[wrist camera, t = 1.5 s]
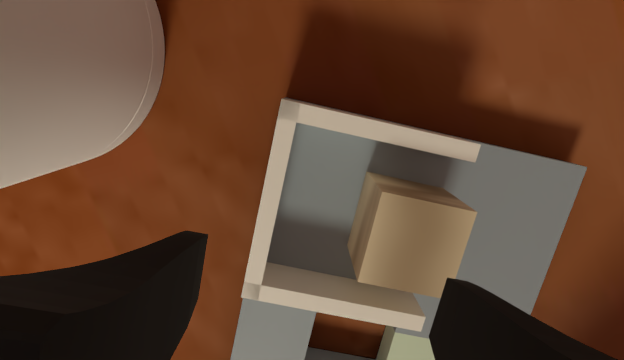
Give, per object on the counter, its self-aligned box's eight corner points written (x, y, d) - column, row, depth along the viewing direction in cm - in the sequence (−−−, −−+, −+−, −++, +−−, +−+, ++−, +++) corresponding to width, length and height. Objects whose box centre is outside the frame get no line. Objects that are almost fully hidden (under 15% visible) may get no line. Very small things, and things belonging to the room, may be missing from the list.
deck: (566, 161, 21) (587, 167, 20) (470, 419, 25) (481, 441, 23) (285, 97, 20) (284, 97, 19) (228, 376, 24) (222, 396, 22)
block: (443, 188, 20) (477, 212, 16) (420, 260, 21) (448, 300, 17) (366, 171, 19) (382, 191, 16) (347, 245, 20) (357, 281, 16)
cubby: (458, 137, 19) (481, 144, 17) (407, 304, 21) (420, 331, 19) (284, 97, 19) (281, 98, 16) (248, 272, 21) (240, 297, 18)
